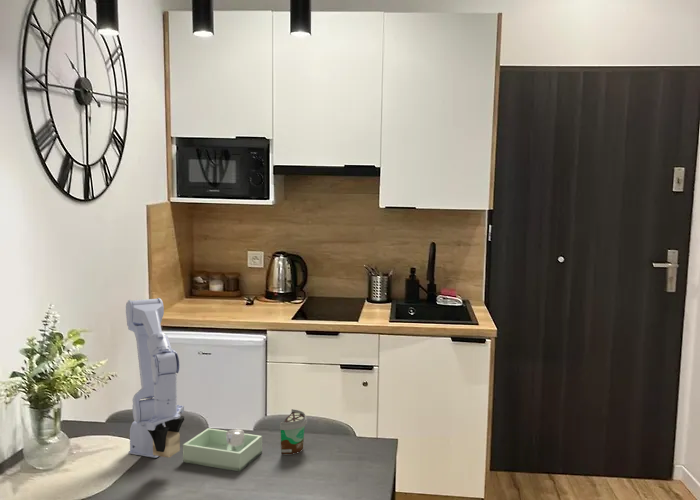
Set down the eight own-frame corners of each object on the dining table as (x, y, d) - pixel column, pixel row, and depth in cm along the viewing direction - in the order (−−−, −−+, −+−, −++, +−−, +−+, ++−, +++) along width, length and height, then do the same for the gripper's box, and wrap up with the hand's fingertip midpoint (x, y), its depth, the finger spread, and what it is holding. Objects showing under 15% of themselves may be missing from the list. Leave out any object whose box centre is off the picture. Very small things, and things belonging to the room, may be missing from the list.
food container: (300, 458, 196) (300, 424, 195) (279, 456, 198) (279, 422, 197) (311, 442, 208) (312, 410, 207) (291, 440, 210) (292, 408, 209)
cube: (152, 454, 184) (152, 436, 183) (163, 447, 188) (163, 430, 188) (169, 457, 182) (169, 439, 182) (179, 450, 187) (179, 432, 186)
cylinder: (224, 459, 193) (223, 435, 192) (229, 451, 198) (229, 428, 197) (241, 460, 192) (241, 436, 191) (246, 453, 197) (246, 429, 196)
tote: (183, 462, 193) (182, 444, 193) (208, 444, 206) (208, 428, 205) (239, 471, 187) (239, 453, 187) (262, 452, 200) (262, 435, 200)
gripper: (162, 408, 176) (163, 459, 177) (193, 391, 189) (193, 439, 191) (139, 404, 178) (140, 455, 179) (171, 388, 191) (171, 436, 193)
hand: (166, 447), depth 185 cm, fingers closed on cube, 5 cm apart
